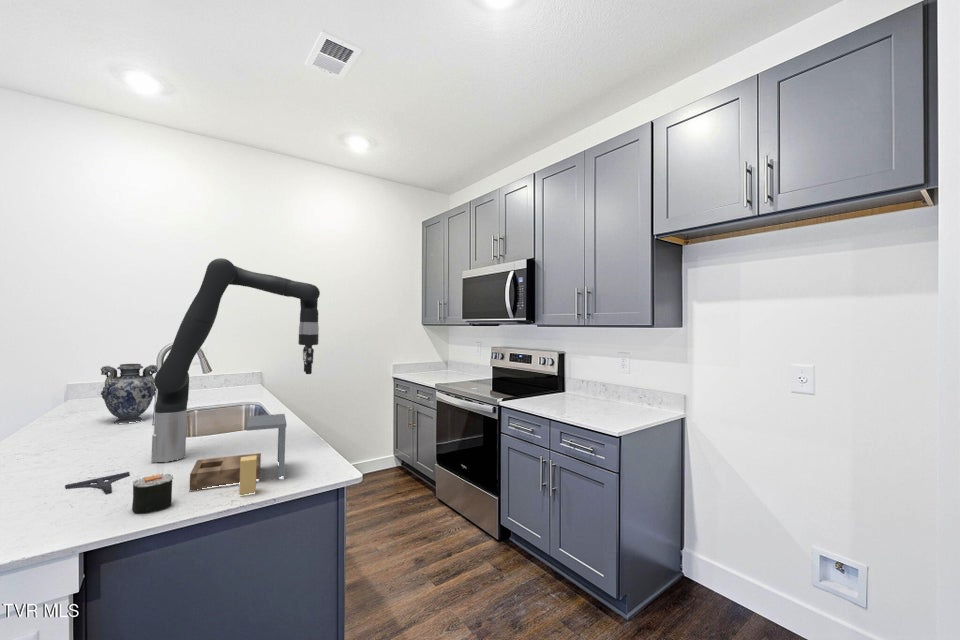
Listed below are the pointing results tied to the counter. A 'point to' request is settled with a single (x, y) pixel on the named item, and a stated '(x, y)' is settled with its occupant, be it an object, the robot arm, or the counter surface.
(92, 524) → the counter surface
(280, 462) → the panel
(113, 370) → the decorative vase
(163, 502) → the sushi
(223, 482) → the socket block
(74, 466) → the counter surface
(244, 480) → the peg
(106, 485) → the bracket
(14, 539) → the counter surface
